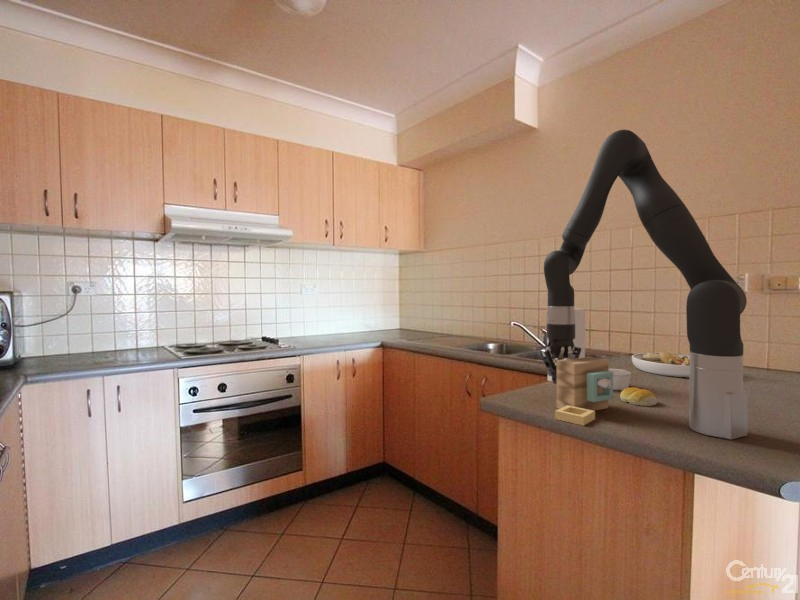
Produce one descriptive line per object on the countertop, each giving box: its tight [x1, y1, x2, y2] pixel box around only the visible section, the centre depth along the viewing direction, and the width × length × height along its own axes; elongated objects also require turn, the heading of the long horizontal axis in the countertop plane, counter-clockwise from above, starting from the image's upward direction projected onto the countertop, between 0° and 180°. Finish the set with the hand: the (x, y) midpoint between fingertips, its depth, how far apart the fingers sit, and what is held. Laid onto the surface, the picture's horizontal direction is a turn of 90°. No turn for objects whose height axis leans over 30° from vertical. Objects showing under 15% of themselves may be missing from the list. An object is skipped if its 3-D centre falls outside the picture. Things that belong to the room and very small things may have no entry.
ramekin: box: [608, 367, 632, 391], centre depth 129 cm, size 11×11×5 cm
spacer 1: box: [554, 405, 596, 427], centre depth 97 cm, size 7×7×2 cm
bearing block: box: [556, 356, 609, 411], centre depth 106 cm, size 6×12×13 cm, turn 113°
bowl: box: [631, 351, 690, 379], centre depth 152 cm, size 30×30×8 cm
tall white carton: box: [547, 307, 586, 382], centre depth 137 cm, size 9×9×25 cm
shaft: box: [546, 365, 612, 389], centre depth 107 cm, size 19×3×3 cm, turn 23°
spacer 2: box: [587, 371, 614, 402], centre depth 101 cm, size 2×7×7 cm, turn 113°
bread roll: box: [620, 386, 658, 407], centre depth 112 cm, size 8×9×4 cm
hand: (560, 382), depth 113 cm, fingers closed on shaft, 2 cm apart
